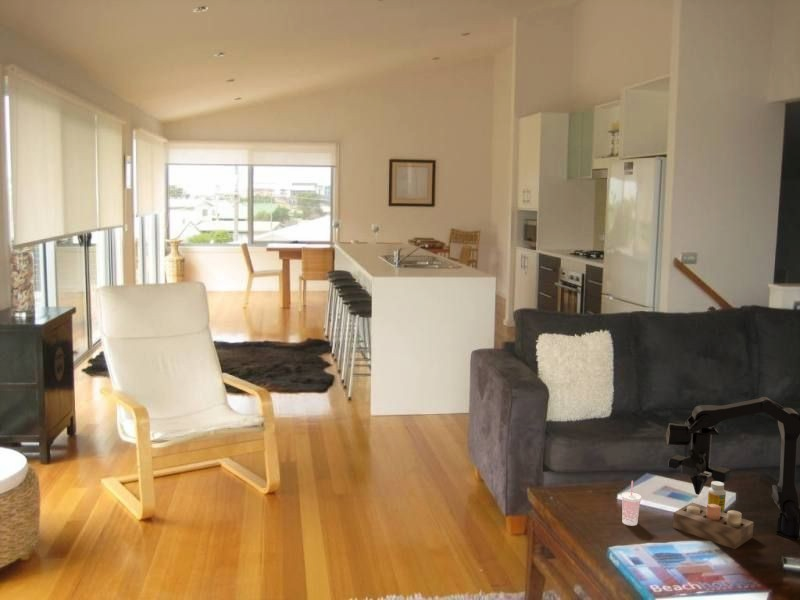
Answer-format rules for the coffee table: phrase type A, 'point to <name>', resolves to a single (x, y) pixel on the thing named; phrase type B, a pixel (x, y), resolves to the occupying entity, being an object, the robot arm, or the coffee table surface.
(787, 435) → the robot arm
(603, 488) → the coffee table surface
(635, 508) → the beverage cup
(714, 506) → the terracotta plug
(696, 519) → the wooden compartment tray
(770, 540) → the coffee table surface
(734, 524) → the maple plug near
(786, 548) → the coffee table surface
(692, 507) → the maple plug far
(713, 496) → the supplement bottle
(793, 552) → the coffee table surface
